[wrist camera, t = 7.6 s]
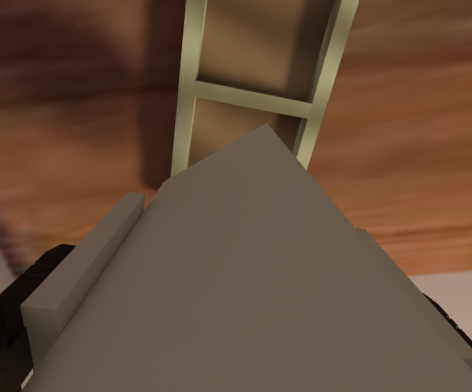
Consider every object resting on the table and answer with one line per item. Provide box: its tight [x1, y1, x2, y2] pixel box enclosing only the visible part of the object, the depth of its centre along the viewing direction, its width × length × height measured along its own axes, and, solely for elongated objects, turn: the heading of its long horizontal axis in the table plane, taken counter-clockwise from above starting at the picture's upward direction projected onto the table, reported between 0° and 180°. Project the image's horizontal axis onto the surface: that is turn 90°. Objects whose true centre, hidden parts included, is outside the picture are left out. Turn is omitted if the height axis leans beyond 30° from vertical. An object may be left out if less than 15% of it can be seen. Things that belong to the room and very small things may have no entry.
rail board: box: [171, 0, 359, 177], centre depth 23 cm, size 23×12×3 cm, turn 169°
